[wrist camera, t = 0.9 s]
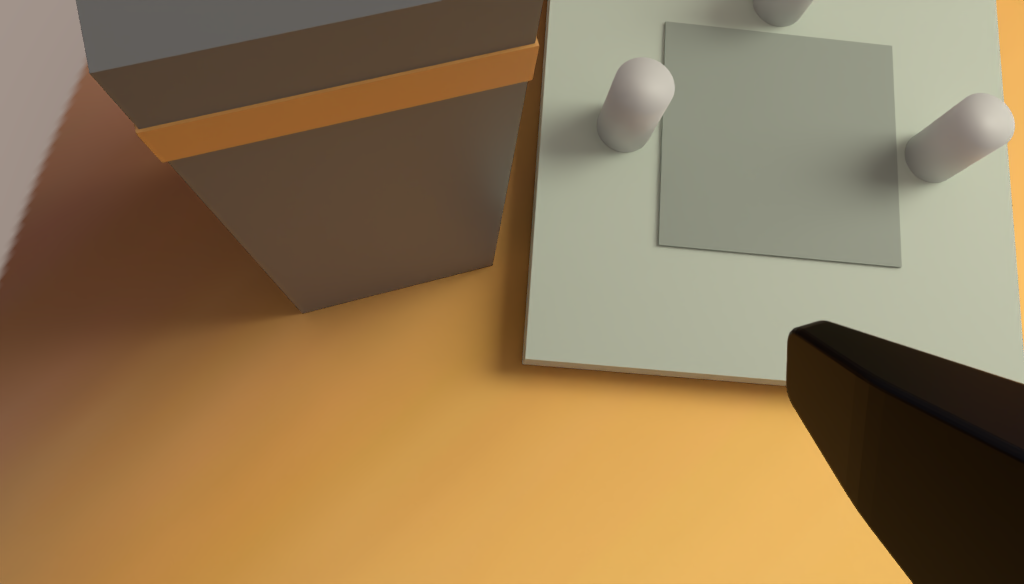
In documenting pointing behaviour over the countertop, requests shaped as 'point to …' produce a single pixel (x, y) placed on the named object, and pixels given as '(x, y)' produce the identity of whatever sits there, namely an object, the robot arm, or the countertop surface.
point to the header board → (770, 184)
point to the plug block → (330, 126)
